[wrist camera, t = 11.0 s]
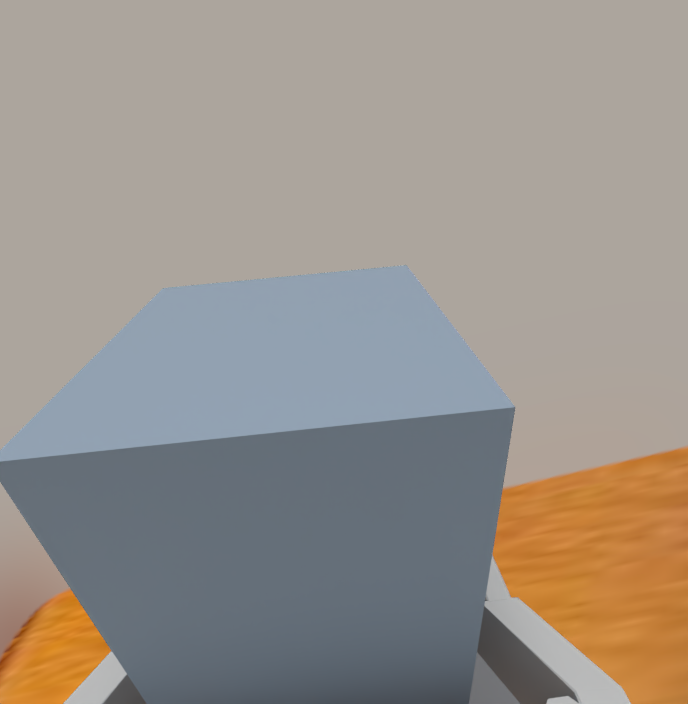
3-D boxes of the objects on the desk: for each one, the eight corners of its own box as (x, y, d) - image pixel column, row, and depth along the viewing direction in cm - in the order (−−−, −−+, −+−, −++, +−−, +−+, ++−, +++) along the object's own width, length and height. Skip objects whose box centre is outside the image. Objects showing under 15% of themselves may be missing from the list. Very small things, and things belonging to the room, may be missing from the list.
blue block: (406, 662, 16) (406, 265, 8) (443, 864, 11) (515, 406, 4) (280, 678, 16) (163, 288, 8) (268, 888, 11) (-13, 463, 4)
